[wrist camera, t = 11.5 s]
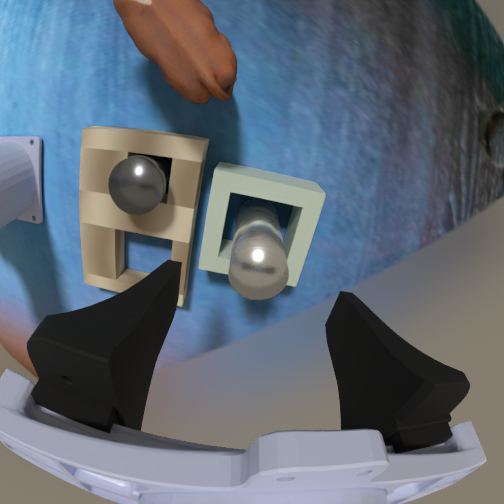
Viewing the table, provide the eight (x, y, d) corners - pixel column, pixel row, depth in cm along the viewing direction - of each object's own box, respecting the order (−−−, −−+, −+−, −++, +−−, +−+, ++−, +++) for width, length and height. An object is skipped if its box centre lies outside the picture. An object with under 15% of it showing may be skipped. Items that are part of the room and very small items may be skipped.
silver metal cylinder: (232, 231, 22) (222, 293, 15) (242, 193, 21) (235, 242, 14) (271, 240, 22) (278, 304, 15) (282, 204, 21) (296, 256, 14)
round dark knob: (131, 191, 20) (107, 210, 17) (135, 145, 19) (110, 154, 15) (175, 199, 21) (159, 219, 17) (182, 151, 19) (165, 161, 15)
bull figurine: (175, -40, 12) (141, -93, 5) (254, 94, 17) (254, 82, 10) (124, -12, 13) (70, -50, 6) (196, 122, 18) (160, 130, 11)
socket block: (94, 271, 24) (84, 283, 22) (96, 125, 18) (82, 128, 16) (186, 292, 25) (182, 306, 23) (209, 138, 19) (205, 141, 17)
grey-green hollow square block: (204, 249, 23) (198, 268, 20) (220, 161, 20) (214, 169, 17) (291, 265, 23) (295, 286, 21) (316, 182, 20) (326, 194, 18)
